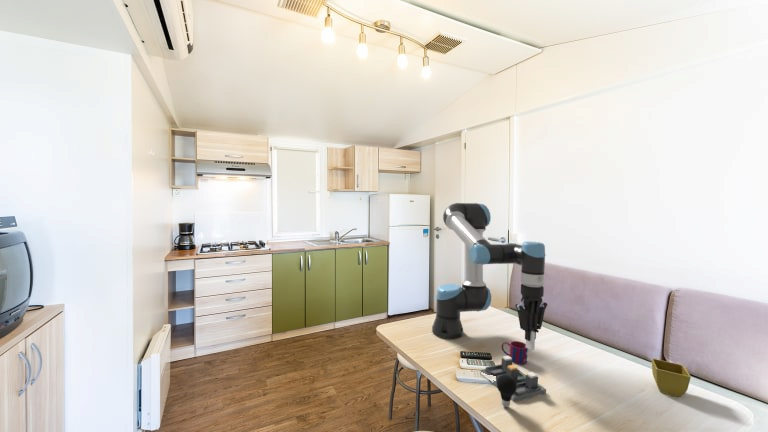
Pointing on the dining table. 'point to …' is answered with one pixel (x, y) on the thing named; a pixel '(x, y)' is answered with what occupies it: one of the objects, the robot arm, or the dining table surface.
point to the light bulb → (506, 388)
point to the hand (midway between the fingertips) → (530, 348)
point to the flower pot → (670, 377)
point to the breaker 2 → (531, 380)
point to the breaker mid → (512, 371)
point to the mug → (517, 352)
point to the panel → (521, 389)
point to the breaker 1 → (506, 362)
